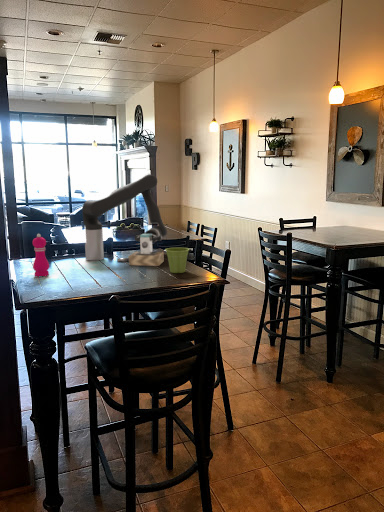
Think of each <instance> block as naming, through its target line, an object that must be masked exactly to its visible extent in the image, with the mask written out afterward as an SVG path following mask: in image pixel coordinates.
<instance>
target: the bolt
mask: <svg viewBox="0 0 384 512" xmlns="http://www.w3.org/2000/svg"><path fill="white" fill-rule="evenodd" d="M129 256H130V255H128V257H123V258H117V263H129Z"/></svg>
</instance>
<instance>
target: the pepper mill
mask: <svg viewBox="0 0 384 512" xmlns="http://www.w3.org/2000/svg"><path fill="white" fill-rule="evenodd" d="M46 245H47V240H46V238H44V237H43V236H42V235H41V234H40V233H37V234H36V237H35V238H33V240H32V246H33V247H34V248H33V249H34V250H33V251H35V258H34V261H33V264H32V265H33V266H32V269H33V270H34V271H35V272H34V276H38V277H37V278H40V277H39V276H45V277H48V276H49V275H50V273H49V269H50V264H49V261H48V259H47V257H46V250H47V249H46V247H45V246H46ZM47 275H48V276H47Z"/></svg>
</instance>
